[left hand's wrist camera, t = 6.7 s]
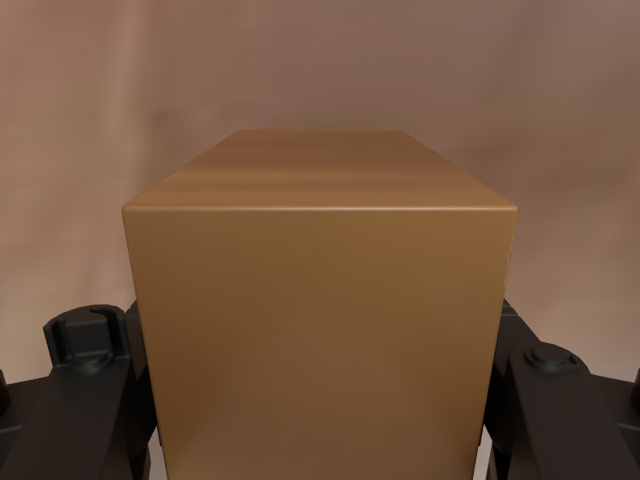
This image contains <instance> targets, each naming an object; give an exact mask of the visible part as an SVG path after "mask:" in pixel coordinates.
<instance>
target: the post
mask: <svg viewBox="0 0 640 480" xmlns="http://www.w3.org/2000/svg"><path fill="white" fill-rule="evenodd" d="M518 213H519V210H518V206H516V205H515V204H513V203H512V202H510V201H509V200H507V199H506V198H504V197H503V196H501V195H500V194H498V193H497V192H495V191H494V190H492V189H490V188H489V187H487V186H486V185H484V184H483V183H481V182H480V181H478V180H477V179H475V178H474V177H472V176H471V175H469V174H468V173H466V172H465V171H463V170H462V169H460V168H458V167H457V166H455V165H454V164H452V163H451V162H449V161H448V160H446V159H445V158H443V157H442V156H440V155H439V154H437V153H436V152H434V151H433V150H431V149H429V148H428V147H426V146H425V145H423V144H422V143H420V142H419V141H417V140H416V139H414V138H413V137H411V136H410V135H408V134H407V133H405V132H404V131H402V130H400V129H240V130H238V131H237V132H235V133H234V134H232V135H231V136H229V137H228V138H226V139H225V140H223V141H222V142H220V143H219V144H217V145H215V146H214V147H212V148H211V149H209V150H208V151H206V152H205V153H203V154H202V155H200V156H199V157H197V158H196V159H194V160H193V161H191V162H190V163H188V164H186V165H185V166H183V167H182V168H180V169H179V170H177V171H176V172H174V173H173V174H171V175H170V176H168V177H167V178H165V179H164V180H162V181H161V182H159V183H157V184H156V185H154V186H153V187H151V188H150V189H148V190H147V191H145V192H144V193H142V194H141V195H139V196H138V197H136V198H135V199H133V200H132V201H130V202H128V203H127V204H125V205H124V206H123V207H122V217H123V223H124V229H125V234H126V240H127V246H128V252H129V258H130V264H131V269H132V275H133V281H134V287H135V293H136V298H137V304H138V310H139V316H140V322H141V328H142V333H143V339H144V345H145V351H146V357H147V362H148V368H149V374H150V380H151V386H152V392H153V397H154V403H155V409H156V415H157V421H158V426H159V432H160V438H161V444H162V450H163V456H164V461H165V467H166V473H167V479H168V480H473V475H474V469H475V463H476V457H477V452H478V446H479V440H480V434H481V428H482V422H483V417H484V411H485V405H486V399H487V393H488V387H489V382H490V376H491V370H492V364H493V358H494V353H495V347H496V341H497V335H498V329H499V323H500V318H501V312H502V306H503V300H504V294H505V288H506V283H507V277H508V271H509V265H510V259H511V254H512V248H513V242H514V236H515V230H516V224H517V219H518Z"/></svg>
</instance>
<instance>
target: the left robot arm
mask: <svg viewBox="0 0 640 480" xmlns="http://www.w3.org/2000/svg"><path fill="white" fill-rule="evenodd" d="M43 331H44V334H45V338H46V342H47V346H48V350H49V354H50V357H51V361H52V365H53V368H52V370H51V372H50V374H49V376H47V377H43V378H38V379H33V380H28V381H23V382H18V383H13V384H7V385H6V382H5V378H4V375H3V372H2V370H1V369H0V480H149V473H150V466H151V459H150V452H149V447H148V442H149V440H150V438H151V436H152V434H153V432H154V430H155V428H156V425H157V430H158V436H159V442H160V446H162V444H161V438H160V432H159V426H158V421H157V415H156V409H155V403H154V397H153V392H152V386H151V380H150V374H149V368H148V362H147V357H146V351H145V345H144V339H143V333H142V328H141V322H140V316H139V310H138V304H137V299H136V301H135V302H134V303H133V304H132V305H131V307H130V309H128V310H127V311H126V313H125V314H124V311H123V310H121V309H120V308H119V307H117V306H112V305H107V304H104V305H89V306H84V307H79V308H76V309H73V310H70V311H67V312H64V313H62V314H60V315H58V316H57V317H55V318H53V319H51V320H50V321H49V322H48V323H47V324H46V325H45V326H44V327H43ZM484 425H485V427H486V429H487V431H488V433H489V435H490V437H491V439H492V447H491V452H490V458H489V463H488V469H487V474H486V480H640V368H639V370H638V373H637V377H636V380H635V383H633V382H628V381H622V380H617V379H612V378H607V377H602V376H597V375H593V374H591V373H590V371H589V369H588V368H587V366H586V365H585V364H584V362H583V361H582V360H581V359H580V358H579V357H578V356H576V355H575V354H573V353H572V352H570V351H569V350H566V349H564V348H561V347H559V346H557V345H554V344H550V343H545V342H541V341H540V340H539V339H538V338H537V336H536V335H535V334H534V333H533V332H532V330H531V329H530V328H529V327H528V326H527V325H526V323H525V322H524V321H523V320H522V319H521V317H520V316H518V314H517V313H516V311H515V310H514V309H513V308H512V307H510V304H509V303H508V302H507V301H506V300H505V298H504V300H503V306H502V312H501V318H500V323H499V329H498V335H497V341H496V347H495V353H494V358H493V364H492V370H491V376H490V382H489V387H488V393H487V399H486V405H485V411H484V417H483V422H482V428H481V434H480V440H479V446H480V444H481V438H482V432H483V426H484Z"/></svg>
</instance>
